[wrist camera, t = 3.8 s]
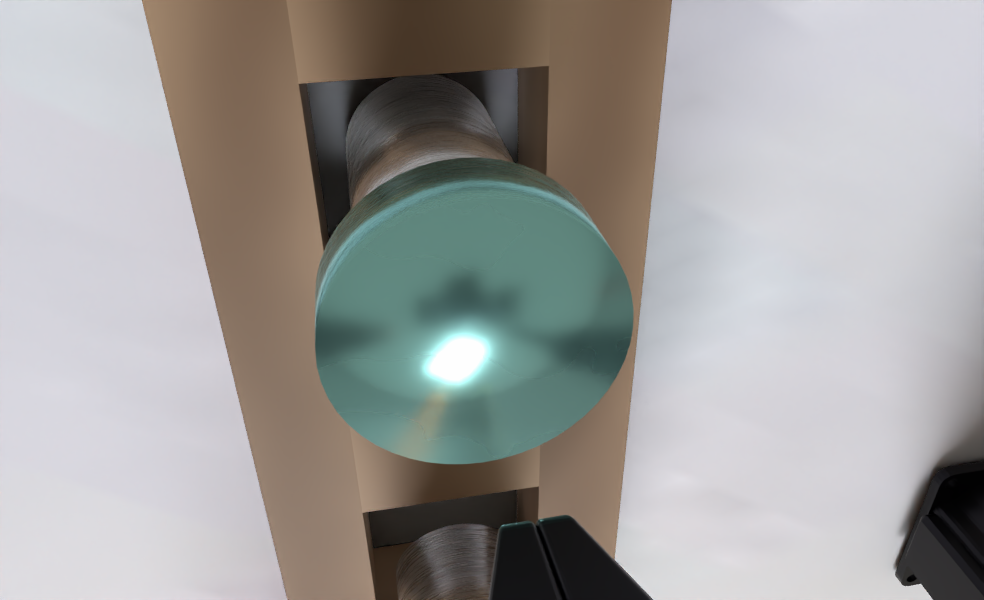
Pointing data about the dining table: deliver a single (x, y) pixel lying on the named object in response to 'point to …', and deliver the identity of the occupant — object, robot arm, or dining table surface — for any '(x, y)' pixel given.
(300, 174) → the socket block
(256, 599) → the dining table surface
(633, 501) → the dining table surface
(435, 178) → the teal plug
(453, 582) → the brass plug
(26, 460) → the dining table surface
